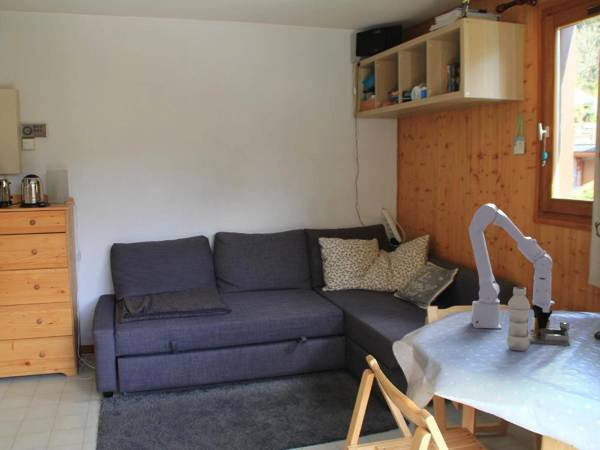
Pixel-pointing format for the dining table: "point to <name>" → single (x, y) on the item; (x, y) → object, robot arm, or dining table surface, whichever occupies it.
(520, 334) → the plastic bottle
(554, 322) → the dining table surface
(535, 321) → the block
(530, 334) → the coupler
